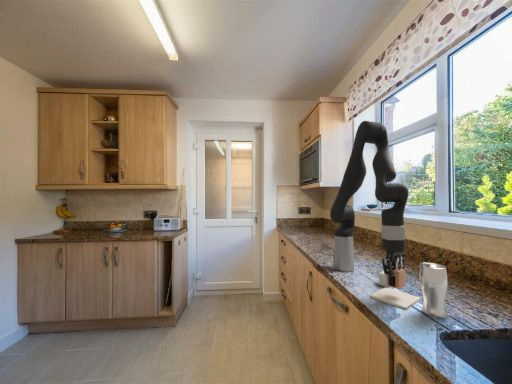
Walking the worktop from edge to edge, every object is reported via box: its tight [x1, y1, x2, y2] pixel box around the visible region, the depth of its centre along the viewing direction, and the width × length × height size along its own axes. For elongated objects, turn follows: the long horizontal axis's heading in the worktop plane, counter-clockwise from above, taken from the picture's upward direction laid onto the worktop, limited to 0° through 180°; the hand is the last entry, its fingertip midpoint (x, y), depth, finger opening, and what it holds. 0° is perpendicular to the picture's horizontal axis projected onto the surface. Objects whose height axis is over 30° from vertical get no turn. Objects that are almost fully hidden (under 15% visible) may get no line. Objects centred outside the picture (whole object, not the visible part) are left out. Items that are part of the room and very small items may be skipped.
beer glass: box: [419, 262, 448, 319], centre depth 71 cm, size 7×7×15 cm
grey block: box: [378, 270, 391, 288], centre depth 95 cm, size 4×4×5 cm
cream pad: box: [369, 286, 422, 311], centre depth 82 cm, size 12×12×1 cm
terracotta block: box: [385, 268, 406, 290], centre depth 82 cm, size 4×4×6 cm
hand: (395, 284), depth 82 cm, fingers closed on terracotta block, 4 cm apart
